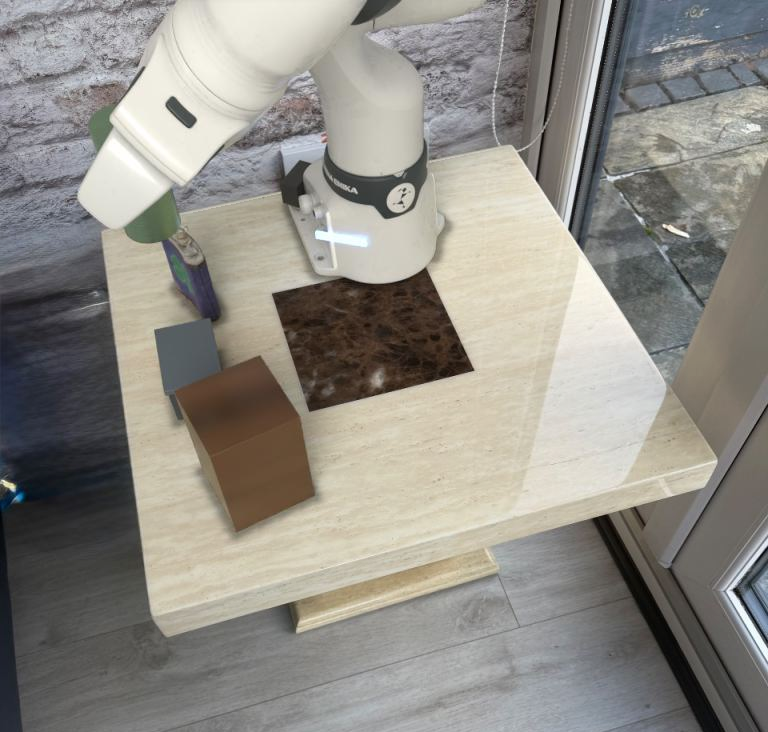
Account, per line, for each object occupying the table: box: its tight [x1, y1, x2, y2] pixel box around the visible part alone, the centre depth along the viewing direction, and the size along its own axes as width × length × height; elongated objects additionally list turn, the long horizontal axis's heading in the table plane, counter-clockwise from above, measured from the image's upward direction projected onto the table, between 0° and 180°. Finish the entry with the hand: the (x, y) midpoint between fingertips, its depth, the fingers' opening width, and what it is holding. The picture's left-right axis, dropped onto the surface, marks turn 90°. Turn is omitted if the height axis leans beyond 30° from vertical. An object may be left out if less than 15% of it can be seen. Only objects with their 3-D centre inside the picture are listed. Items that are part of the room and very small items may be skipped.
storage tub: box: [153, 318, 222, 421], centre depth 94 cm, size 10×6×5 cm
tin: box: [87, 102, 182, 245], centre depth 70 cm, size 5×5×10 cm
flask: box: [160, 224, 222, 324], centre depth 100 cm, size 9×3×11 cm, turn 36°
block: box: [174, 354, 315, 533], centre depth 83 cm, size 9×9×13 cm
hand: (129, 171), depth 70 cm, fingers closed on tin, 5 cm apart
